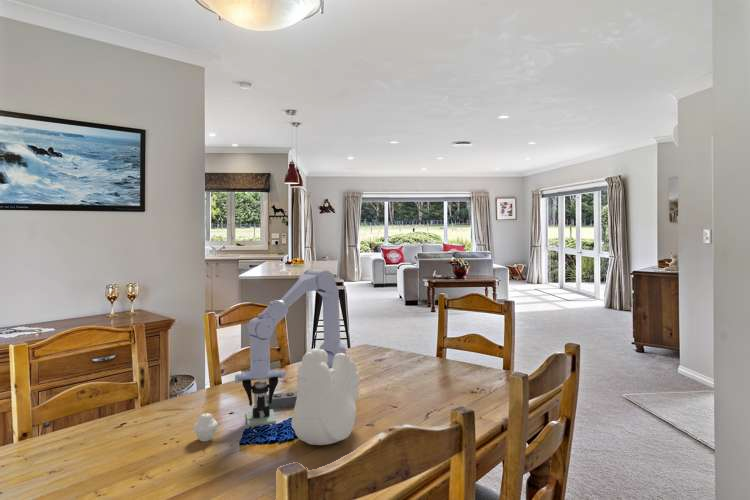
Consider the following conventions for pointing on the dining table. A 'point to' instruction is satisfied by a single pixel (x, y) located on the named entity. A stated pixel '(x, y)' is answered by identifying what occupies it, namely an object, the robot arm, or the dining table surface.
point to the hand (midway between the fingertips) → (260, 403)
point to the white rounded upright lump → (325, 398)
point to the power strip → (282, 400)
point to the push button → (260, 400)
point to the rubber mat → (260, 419)
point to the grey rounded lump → (205, 427)
